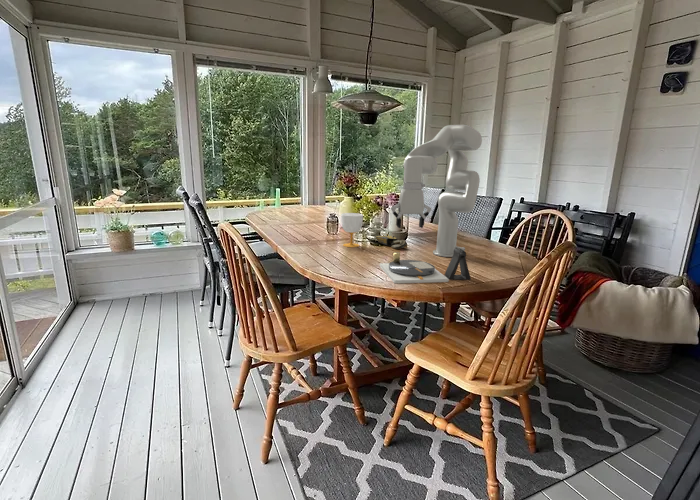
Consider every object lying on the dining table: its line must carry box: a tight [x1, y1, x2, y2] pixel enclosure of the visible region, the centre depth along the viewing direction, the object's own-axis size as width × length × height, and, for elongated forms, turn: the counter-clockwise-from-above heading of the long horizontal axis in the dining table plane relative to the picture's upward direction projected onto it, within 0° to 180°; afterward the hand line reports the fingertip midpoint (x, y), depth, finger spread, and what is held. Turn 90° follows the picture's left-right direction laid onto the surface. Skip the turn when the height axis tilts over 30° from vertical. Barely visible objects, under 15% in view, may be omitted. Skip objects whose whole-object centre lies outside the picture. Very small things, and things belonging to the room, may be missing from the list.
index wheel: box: [389, 251, 436, 276], centre depth 160 cm, size 19×19×6 cm
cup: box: [340, 212, 364, 248], centre depth 206 cm, size 12×12×17 cm
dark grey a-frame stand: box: [443, 248, 471, 281], centre depth 154 cm, size 9×6×12 cm, turn 94°
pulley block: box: [376, 234, 408, 250], centre depth 213 cm, size 14×6×30 cm
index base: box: [379, 262, 450, 284], centre depth 160 cm, size 22×24×2 cm
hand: (409, 227), depth 162 cm, fingers open, 9 cm apart
